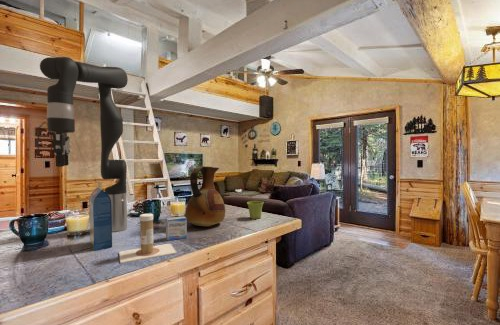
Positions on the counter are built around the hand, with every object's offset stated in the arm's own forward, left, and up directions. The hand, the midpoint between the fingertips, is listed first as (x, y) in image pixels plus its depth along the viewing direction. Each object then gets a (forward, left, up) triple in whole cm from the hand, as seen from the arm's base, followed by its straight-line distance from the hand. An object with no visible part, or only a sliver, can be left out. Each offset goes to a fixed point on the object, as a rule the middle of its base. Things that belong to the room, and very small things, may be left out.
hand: (62, 166), depth 89 cm
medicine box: (-4, +39, -32) cm, 50 cm away
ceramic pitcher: (-19, +57, -32) cm, 68 cm away
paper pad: (+9, +26, -32) cm, 42 cm away
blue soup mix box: (-10, +11, -32) cm, 35 cm away
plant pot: (-19, +86, -32) cm, 93 cm away
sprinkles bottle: (+9, +25, -31) cm, 41 cm away
